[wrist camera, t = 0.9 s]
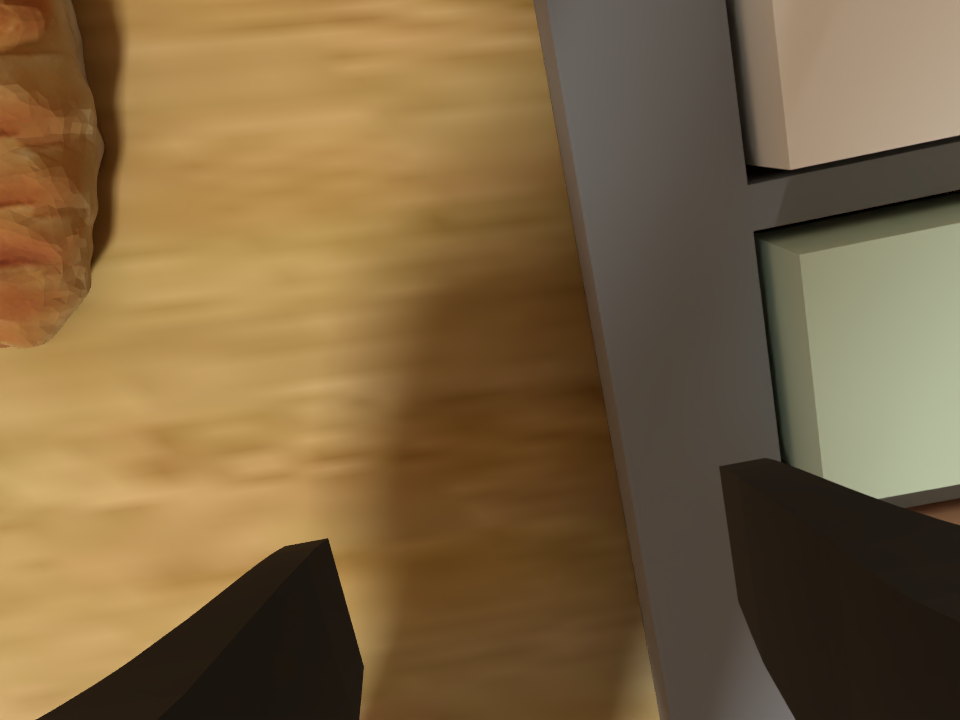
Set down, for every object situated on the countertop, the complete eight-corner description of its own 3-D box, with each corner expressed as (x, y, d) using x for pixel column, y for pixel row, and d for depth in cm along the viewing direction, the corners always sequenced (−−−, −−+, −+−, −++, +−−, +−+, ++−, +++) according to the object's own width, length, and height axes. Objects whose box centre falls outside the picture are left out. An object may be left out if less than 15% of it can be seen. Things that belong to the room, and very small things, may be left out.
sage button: (999, 409, 19) (1092, 460, 16) (775, 451, 19) (826, 508, 16) (989, 186, 17) (1088, 197, 15) (749, 234, 18) (799, 254, 15)
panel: (1112, 647, 22) (1206, 724, 19) (660, 721, 23) (685, 807, 20) (1102, -255, 17) (1231, -336, 14) (513, -117, 17) (517, -167, 15)
